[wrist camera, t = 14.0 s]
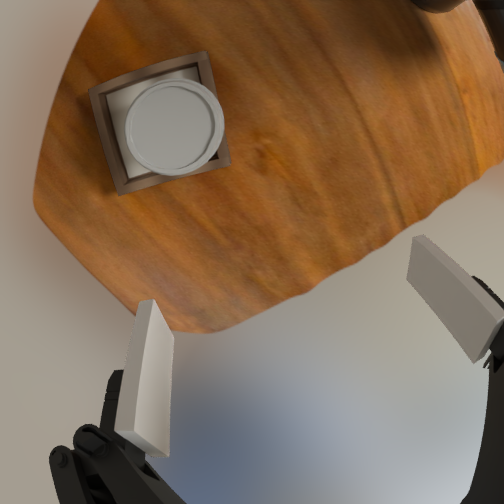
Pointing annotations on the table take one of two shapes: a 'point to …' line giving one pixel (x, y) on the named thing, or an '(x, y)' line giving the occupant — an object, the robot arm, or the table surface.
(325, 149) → the table surface
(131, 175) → the holder
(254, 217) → the table surface
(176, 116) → the disposable coffee cup
